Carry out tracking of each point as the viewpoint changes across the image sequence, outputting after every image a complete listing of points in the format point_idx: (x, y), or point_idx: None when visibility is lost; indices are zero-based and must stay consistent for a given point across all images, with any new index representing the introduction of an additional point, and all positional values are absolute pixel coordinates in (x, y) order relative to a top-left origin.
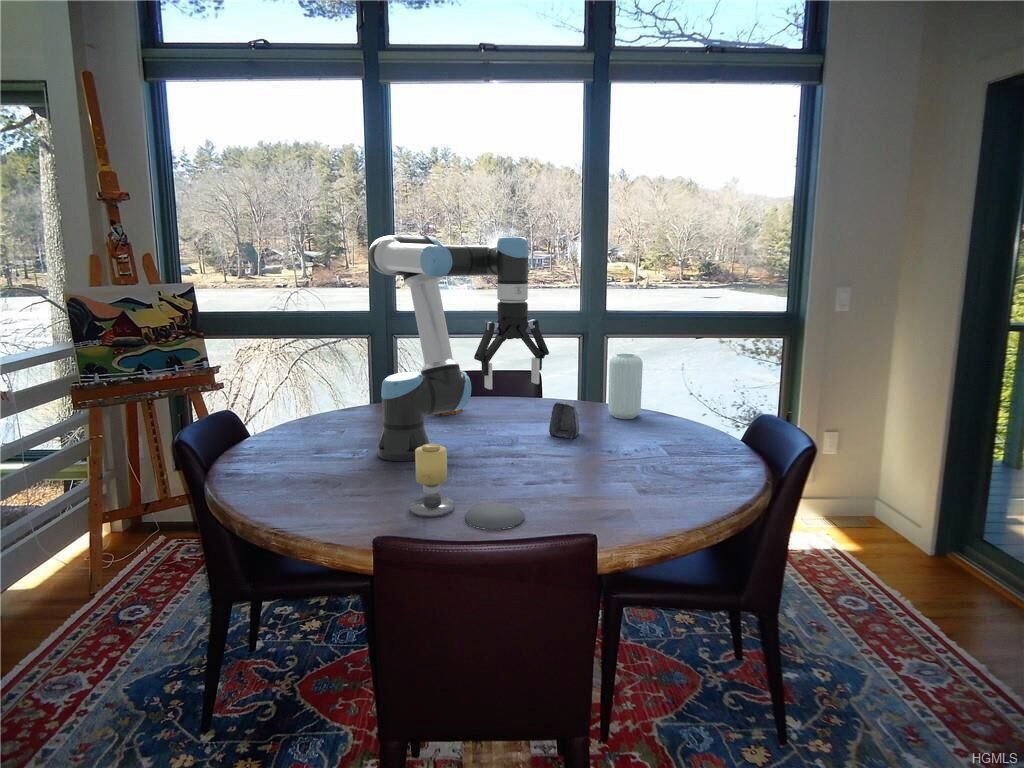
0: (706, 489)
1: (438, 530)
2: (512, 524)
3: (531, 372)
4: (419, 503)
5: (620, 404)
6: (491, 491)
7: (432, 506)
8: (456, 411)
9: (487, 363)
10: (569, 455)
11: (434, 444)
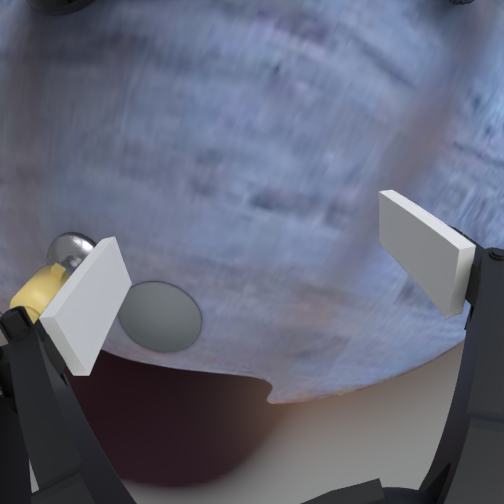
0: (465, 304)
1: None
2: (176, 350)
3: (403, 210)
4: (57, 258)
5: None
6: (177, 218)
7: None
8: None
9: (62, 360)
10: (410, 78)
11: (33, 318)
